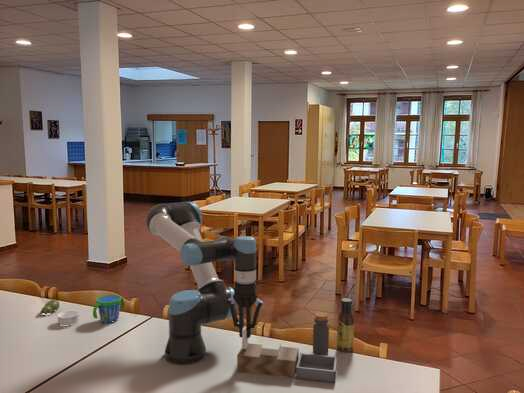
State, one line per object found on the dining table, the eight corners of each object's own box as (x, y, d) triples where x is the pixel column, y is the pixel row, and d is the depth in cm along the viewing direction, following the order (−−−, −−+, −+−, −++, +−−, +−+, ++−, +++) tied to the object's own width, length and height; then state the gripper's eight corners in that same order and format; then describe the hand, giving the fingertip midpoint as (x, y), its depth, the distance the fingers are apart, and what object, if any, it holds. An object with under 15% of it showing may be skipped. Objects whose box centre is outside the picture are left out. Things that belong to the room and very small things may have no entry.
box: (295, 378, 154) (296, 367, 154) (299, 363, 165) (300, 353, 164) (335, 383, 151) (335, 371, 151) (336, 367, 162) (336, 356, 162)
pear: (61, 298, 216) (47, 308, 207) (62, 308, 218) (48, 319, 208) (50, 297, 217) (36, 307, 208) (52, 307, 219) (38, 318, 210)
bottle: (327, 356, 170) (328, 317, 169) (312, 355, 171) (312, 316, 170) (328, 350, 176) (329, 312, 174) (313, 348, 177) (314, 311, 175)
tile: (261, 354, 158) (261, 347, 158) (264, 347, 164) (264, 340, 164) (278, 356, 157) (278, 349, 157) (281, 349, 163) (281, 342, 163)
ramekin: (74, 327, 196) (73, 317, 196) (53, 327, 196) (53, 317, 196) (82, 319, 205) (82, 310, 204) (63, 319, 205) (62, 309, 205)
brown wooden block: (237, 371, 159) (237, 355, 158) (244, 358, 168) (244, 342, 168) (294, 377, 155) (294, 361, 154) (298, 364, 164) (298, 348, 164)
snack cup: (100, 328, 195) (99, 305, 194) (86, 322, 201) (86, 300, 200) (131, 318, 207) (131, 296, 206) (117, 312, 213) (117, 291, 212)
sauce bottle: (335, 345, 180) (336, 296, 178) (351, 345, 180) (353, 296, 178) (338, 353, 174) (339, 302, 171) (354, 353, 173) (356, 302, 171)
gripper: (224, 282, 157) (224, 348, 160) (261, 285, 155) (260, 352, 157) (230, 276, 165) (230, 339, 167) (265, 279, 162) (265, 343, 165)
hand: (245, 345), depth 162 cm, fingers closed
